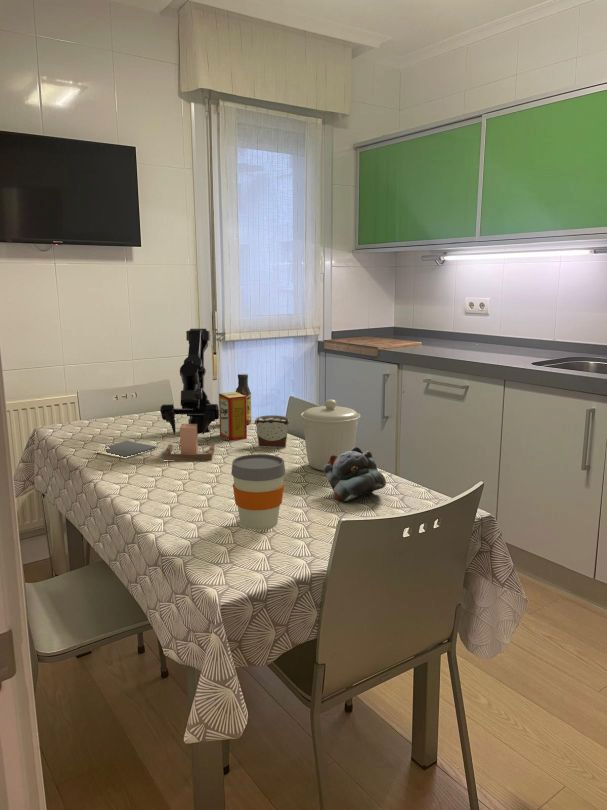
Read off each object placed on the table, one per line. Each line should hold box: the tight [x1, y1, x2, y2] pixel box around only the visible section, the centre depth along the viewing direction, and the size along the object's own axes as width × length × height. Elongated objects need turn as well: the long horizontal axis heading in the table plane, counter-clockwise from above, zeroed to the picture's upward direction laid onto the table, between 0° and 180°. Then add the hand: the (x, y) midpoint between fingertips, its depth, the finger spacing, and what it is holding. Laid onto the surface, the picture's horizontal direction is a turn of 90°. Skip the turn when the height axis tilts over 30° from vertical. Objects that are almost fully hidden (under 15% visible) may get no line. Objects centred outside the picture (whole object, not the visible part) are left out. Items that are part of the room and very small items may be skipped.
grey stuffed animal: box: [323, 446, 387, 504], centre depth 165 cm, size 15×12×14 cm
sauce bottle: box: [235, 373, 252, 425], centre depth 245 cm, size 7×6×20 cm
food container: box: [254, 414, 291, 449], centre depth 214 cm, size 12×6×10 cm, turn 84°
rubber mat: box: [104, 440, 157, 457], centre depth 206 cm, size 14×14×1 cm
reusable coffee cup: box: [231, 453, 286, 530], centre depth 145 cm, size 12×13×15 cm
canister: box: [300, 399, 361, 472], centre depth 188 cm, size 18×18×21 cm
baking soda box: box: [218, 391, 248, 442], centre depth 224 cm, size 10×6×16 cm
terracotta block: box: [179, 423, 199, 454], centre depth 201 cm, size 5×5×10 cm
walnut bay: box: [162, 443, 215, 462], centre depth 201 cm, size 13×15×2 cm
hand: (188, 433), depth 200 cm, fingers open, 9 cm apart
